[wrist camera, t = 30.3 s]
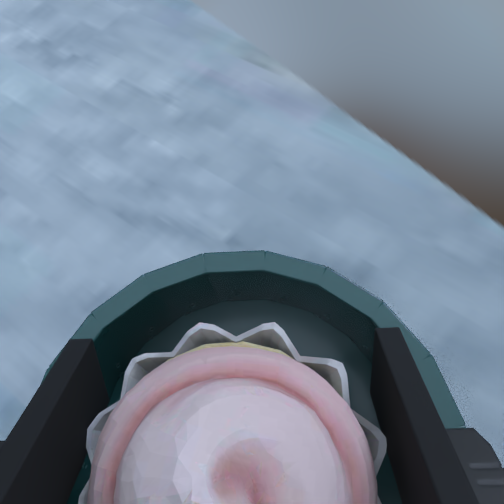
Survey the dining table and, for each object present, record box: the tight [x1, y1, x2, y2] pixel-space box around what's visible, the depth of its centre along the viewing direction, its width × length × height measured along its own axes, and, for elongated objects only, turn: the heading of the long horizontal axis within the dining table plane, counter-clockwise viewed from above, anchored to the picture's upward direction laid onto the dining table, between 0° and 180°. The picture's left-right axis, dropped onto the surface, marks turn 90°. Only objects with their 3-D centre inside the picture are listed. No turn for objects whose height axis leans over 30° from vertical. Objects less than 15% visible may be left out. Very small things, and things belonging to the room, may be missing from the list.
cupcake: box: [78, 322, 387, 504], centre depth 13 cm, size 9×9×10 cm
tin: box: [41, 250, 466, 504], centre depth 16 cm, size 15×15×6 cm
